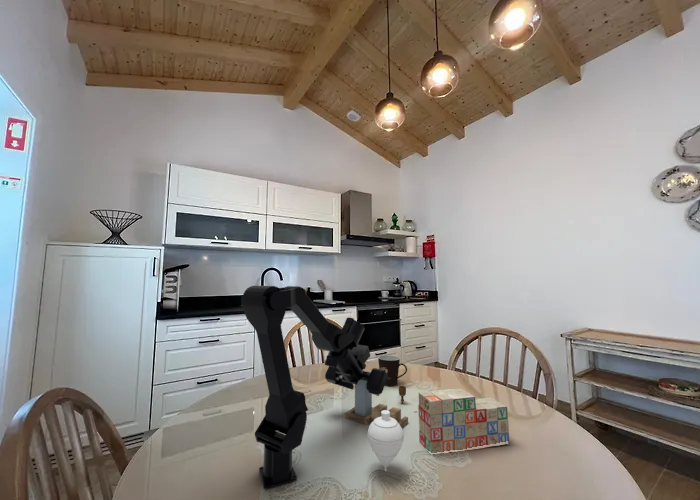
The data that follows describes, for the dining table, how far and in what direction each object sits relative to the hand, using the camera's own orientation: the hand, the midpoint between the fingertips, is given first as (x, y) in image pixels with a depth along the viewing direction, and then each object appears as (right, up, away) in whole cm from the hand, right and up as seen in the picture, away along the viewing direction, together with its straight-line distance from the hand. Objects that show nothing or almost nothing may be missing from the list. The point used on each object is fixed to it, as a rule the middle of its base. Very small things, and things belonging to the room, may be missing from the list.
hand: (365, 391), depth 91 cm
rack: (+3, -6, -4) cm, 8 cm away
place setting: (+23, -9, +5) cm, 25 cm away
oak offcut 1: (+4, -6, -5) cm, 9 cm away
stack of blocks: (+24, -6, -16) cm, 29 cm away
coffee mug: (+11, -10, +26) cm, 30 cm away
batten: (-1, -7, -2) cm, 7 cm away
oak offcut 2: (+7, -6, -7) cm, 12 cm away
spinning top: (+3, -4, -28) cm, 28 cm away
